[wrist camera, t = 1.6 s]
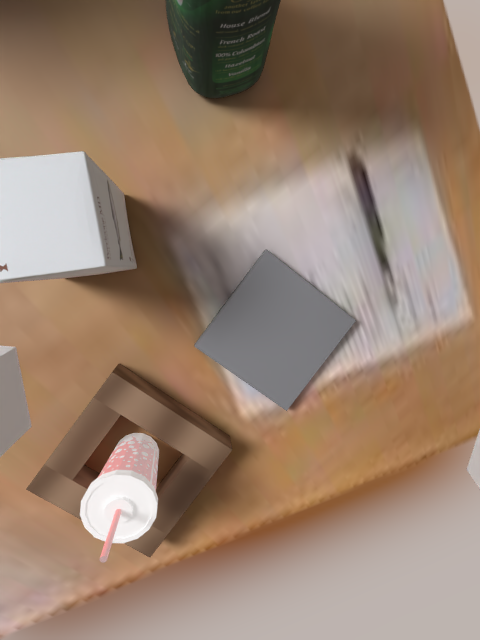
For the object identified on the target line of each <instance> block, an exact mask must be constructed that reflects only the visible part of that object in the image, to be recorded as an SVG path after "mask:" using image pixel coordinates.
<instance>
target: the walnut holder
mask: <svg viewBox="0 0 480 640" xmlns="http://www.w3.org/2000/svg"><path fill="white" fill-rule="evenodd" d="M120 415H122V416H124V417H125V418H127V419H128V420H130V421H132V422H133V423H135V424H136V425H138V426H140V427H141V428H143V429H144V430H146V431H148V432H149V433H151V434H152V435H154V436H156V437H157V438H159V439H160V440H162V441H164V442H165V443H167V444H168V445H170V446H172V447H173V448H175V449H176V450H178V451H180V452H181V453H183V454H182V455H181V456H180V458H179V459H178V460H177V462H176V463H175V464H174V466H173V467H172V468H171V470H170V471H169V472H168V474H167V475H166V476H165V478H164V479H163V480H162V482H161V483H160V484H159V486H158V487H157V488H156V494H157V497H158V505H157V514H156V519H155V520H154V522H153V524H152V525H151V527H150V529H149V530H148V531H147V532H145V533H144V534H143V535H142V536H140V537H139V538H138V539H135V540H132V541H129V542H126V543H124V544H126V545H128V546H130V547H132V548H133V549H135V550H137V551H139V552H141V553H143V554H144V555H146V556H148V557H151V556H152V554H153V553H154V552H155V550H156V549H157V548H158V547H159V545H160V544H161V543H162V541H163V540H164V539H165V537H166V536H167V535H168V533H169V532H170V531H171V529H172V528H173V527H174V526H175V524H176V523H177V522H178V520H179V519H180V518H181V516H182V515H183V514H184V512H185V511H186V510H187V509H188V507H189V506H190V505H191V503H192V502H193V501H194V499H195V498H196V497H197V495H198V494H199V493H200V492H201V490H202V489H203V488H204V486H205V485H206V484H207V482H208V481H209V480H210V478H211V477H212V476H213V474H214V473H215V472H216V471H217V469H218V468H219V467H220V465H221V464H222V463H223V461H224V460H225V459H226V457H227V456H228V455H229V454H230V452H231V451H232V446H231V441H230V436H229V435H227V434H226V433H224V432H223V431H221V430H220V429H218V428H217V427H215V426H214V425H212V424H210V423H209V422H207V421H206V420H204V419H203V418H201V417H200V416H198V415H197V414H195V413H194V412H192V411H191V410H189V409H188V408H186V407H185V406H183V405H182V404H180V403H178V402H177V401H175V400H174V399H172V398H171V397H169V396H168V395H166V394H165V393H163V392H162V391H160V390H159V389H157V388H156V387H154V386H153V385H151V384H150V383H148V382H146V381H145V380H143V379H142V378H140V377H139V376H137V375H136V374H134V373H133V372H131V371H130V370H128V369H127V368H125V367H124V366H122V365H121V364H118V365H117V367H116V368H115V369H114V370H113V372H112V373H111V374H110V376H109V377H108V379H107V380H106V381H105V383H104V384H103V385H102V387H101V388H100V389H99V391H98V392H97V394H96V395H95V396H94V398H93V399H92V400H91V402H90V403H89V404H88V406H87V407H86V408H85V410H84V411H83V413H82V414H81V415H80V417H79V418H78V419H77V421H76V422H75V423H74V425H73V426H72V428H71V429H70V430H69V432H68V433H67V434H66V436H65V437H64V438H63V440H62V441H61V443H60V444H59V445H58V447H57V448H56V449H55V451H54V452H53V453H52V455H51V456H50V458H49V459H48V460H47V462H46V463H45V464H44V466H43V467H42V468H41V470H40V471H39V472H38V474H37V475H36V477H35V478H34V479H33V481H32V482H31V483H30V485H29V486H28V487H27V489H26V490H28V491H30V492H32V493H34V494H35V495H37V496H39V497H41V498H43V499H45V500H46V501H48V502H50V503H52V504H54V505H55V506H57V507H59V508H61V509H63V510H64V511H66V512H68V513H70V514H72V515H74V516H75V517H77V518H79V519H81V517H80V507H81V500H82V498H83V496H84V495H85V493H86V491H87V489H88V487H89V486H90V484H91V483H92V482H93V481H94V480H96V479H97V478H98V476H99V475H100V474H99V473H97V472H95V471H94V470H92V469H90V468H89V467H87V466H85V465H84V464H85V463H86V461H87V460H88V459H89V457H90V456H91V455H92V453H93V452H94V450H95V449H96V448H97V446H98V445H99V444H100V442H101V441H102V440H103V438H104V437H105V436H106V434H107V433H108V432H109V430H110V429H111V428H112V426H113V425H114V423H115V422H116V421H117V419H118V418H119V417H120ZM81 520H82V519H81Z"/></svg>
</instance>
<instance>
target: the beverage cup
mask: <svg viewBox="0 0 480 640" xmlns="http://www.w3.org/2000/svg"><path fill="white" fill-rule="evenodd" d="M158 459H159V449H158V446H157V443H156V442H155V441H154V440H153V439H152V437H150V436H148V435H146V434H144V433H132V434H129V435H126V436H125V437H123V438H122V439H121V440H120V441H119V442H118V444H117V446H116V447H115V449H114V451H113V452H112V454H111V456H110V458H109V459H108V461H107V463H106V464H105V466H104V468H103V469H102V471H101V473H100V475H99V476H98V478H97V479H96V480H94V481H93V482H92V483H91V484H90V486H89V487H88V489H87V491H86V493H85V495H84V496H83V498H82V500H81V507H80V517H81V519H82V522H83V524H84V527H85V528H86V529H87V530H88V531H89V532H90V533H91V534H92V535H93V536H94V537H95V538H98V539H100V540H103V541H105V544H104V547H103V550H102V553H101V556H100V561H101V562H106V560H107V558H108V554H109V551H110V548H111V545H112V543H126V542H129V541H132V540H135V539H138V538H139V537H140V536H142V535H143V534H144V533H145V532H147V531H148V530H149V529H150V527H151V525H152V524H153V522H154V520H155V519H156V514H157V505H158V497H157V494H156V483H157V471H158Z"/></svg>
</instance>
